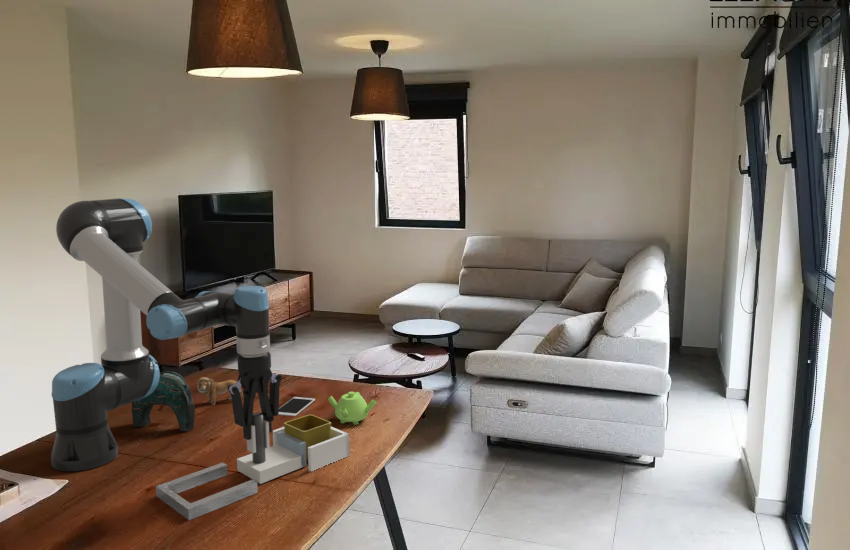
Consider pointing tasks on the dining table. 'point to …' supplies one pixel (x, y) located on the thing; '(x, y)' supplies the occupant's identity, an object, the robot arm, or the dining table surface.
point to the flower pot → (309, 430)
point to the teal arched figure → (167, 401)
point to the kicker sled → (272, 455)
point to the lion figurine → (213, 388)
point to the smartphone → (295, 406)
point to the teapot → (351, 407)
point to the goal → (325, 448)
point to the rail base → (205, 505)
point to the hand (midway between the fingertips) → (258, 448)
